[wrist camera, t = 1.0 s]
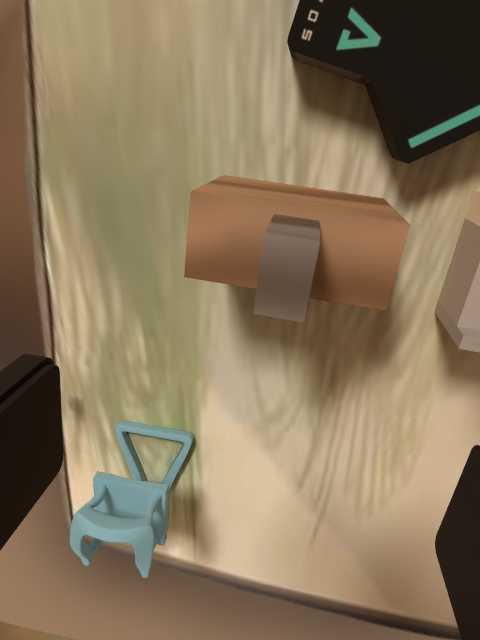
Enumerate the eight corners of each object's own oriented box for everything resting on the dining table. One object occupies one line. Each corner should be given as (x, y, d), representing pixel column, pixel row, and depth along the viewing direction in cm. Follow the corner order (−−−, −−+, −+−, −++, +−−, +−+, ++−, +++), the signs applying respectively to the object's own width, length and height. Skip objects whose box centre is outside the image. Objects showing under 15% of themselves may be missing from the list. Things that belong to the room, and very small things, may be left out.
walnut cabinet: (223, 175, 34) (163, 205, 20) (383, 198, 33) (432, 247, 19) (216, 239, 36) (158, 306, 22) (367, 263, 35) (401, 349, 21)
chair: (119, 482, 48) (63, 587, 37) (118, 418, 45) (55, 514, 34) (190, 495, 47) (153, 607, 36) (194, 432, 44) (154, 533, 33)
